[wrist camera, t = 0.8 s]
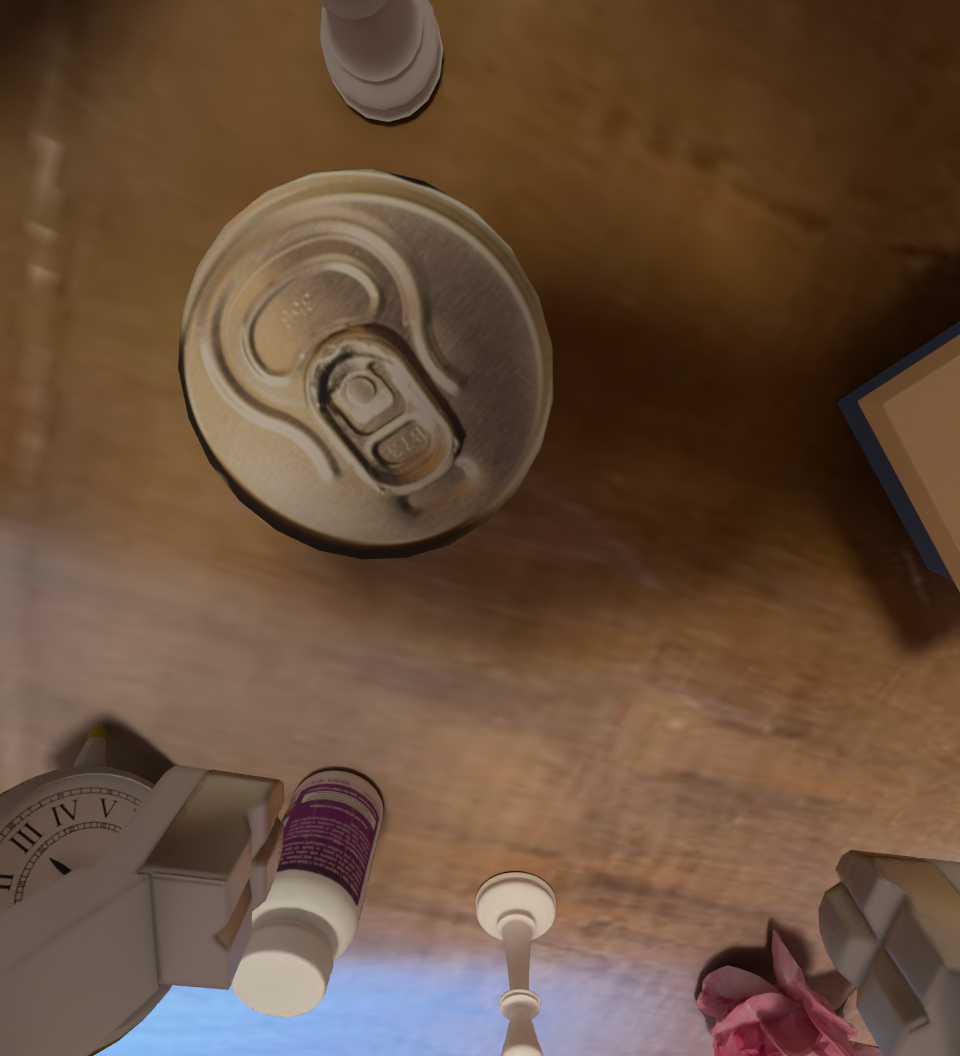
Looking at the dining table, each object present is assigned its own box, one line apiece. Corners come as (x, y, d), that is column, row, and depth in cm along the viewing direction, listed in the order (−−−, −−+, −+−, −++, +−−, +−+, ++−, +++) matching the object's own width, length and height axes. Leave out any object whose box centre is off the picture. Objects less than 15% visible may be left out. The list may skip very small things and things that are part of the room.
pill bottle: (284, 769, 31) (197, 941, 22) (377, 762, 31) (327, 934, 22) (303, 843, 33) (229, 1033, 24) (391, 838, 33) (351, 1027, 23)
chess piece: (554, 932, 34) (578, 1151, 25) (476, 931, 35) (470, 1150, 25) (556, 871, 33) (582, 1080, 24) (474, 871, 33) (467, 1078, 24)
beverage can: (432, 212, 23) (371, 64, 11) (566, 383, 25) (630, 405, 13) (283, 359, 25) (100, 361, 13) (418, 508, 26) (361, 623, 15)
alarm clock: (256, 834, 33) (71, 1205, 18) (177, 885, 34) (-52, 1269, 20) (107, 698, 30) (-243, 1008, 16) (28, 759, 31) (-360, 1096, 17)
